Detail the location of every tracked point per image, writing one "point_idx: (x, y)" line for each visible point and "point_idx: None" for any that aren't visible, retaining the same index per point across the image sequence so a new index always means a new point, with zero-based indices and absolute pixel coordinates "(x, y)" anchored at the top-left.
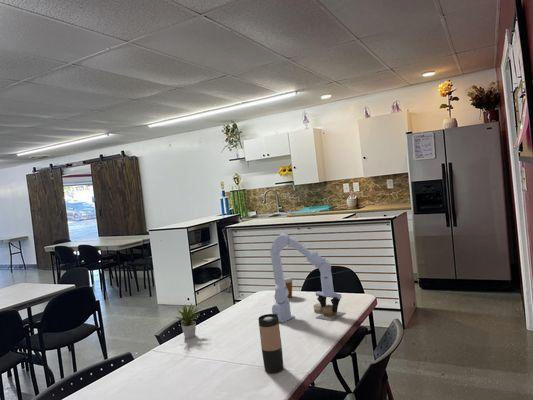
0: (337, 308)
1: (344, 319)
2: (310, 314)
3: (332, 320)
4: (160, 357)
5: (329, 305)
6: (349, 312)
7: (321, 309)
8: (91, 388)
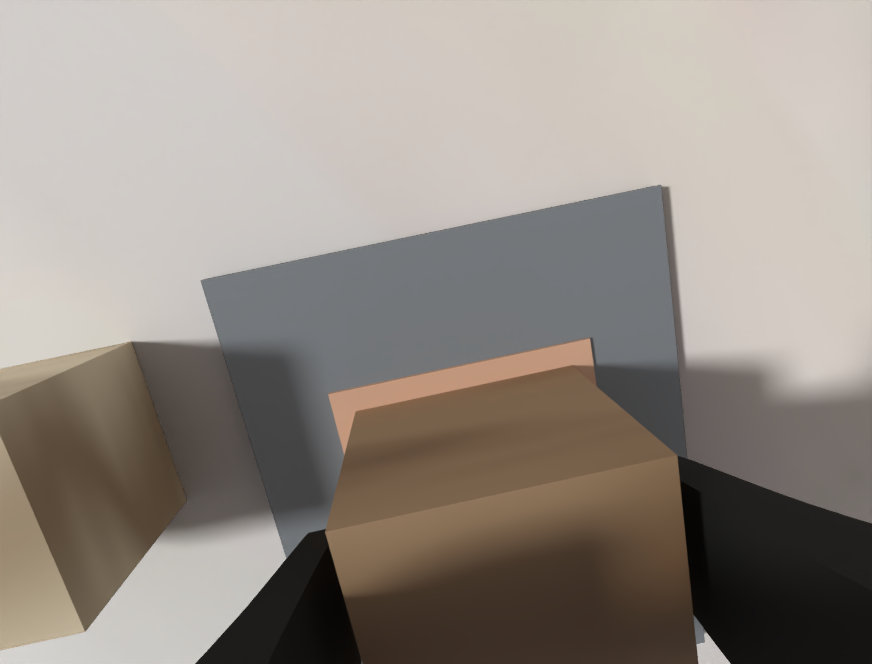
0: (733, 482)
1: (838, 450)
2: (74, 656)
3: (701, 629)
4: None
5: (461, 587)
6: (684, 65)
7: (131, 498)
8: None
